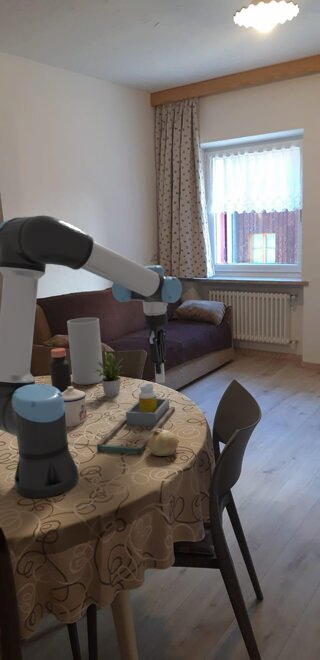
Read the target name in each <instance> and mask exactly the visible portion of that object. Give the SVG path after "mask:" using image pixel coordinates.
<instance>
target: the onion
mask: <svg viewBox="0 0 320 660" xmlns="http://www.w3.org/2000/svg"><path fill="white" fill-rule="evenodd" d="M178 446H179V439H178V437H177V436H176V435H175V434H174V433H173V432H171V431H170V430H168V429H162V428H161V429H160V428H158V429H156V430H154V431H153V433H152V434H151V435H150V437H149V440H148V445H147V447H148V450H149V452H151V454H152V455H154V456H156V457H161V456H162V457H168V456H172V455H173V454H174V453H175V452H176V451H177V449H178Z"/></svg>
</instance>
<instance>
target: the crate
mask: <svg viewBox="0 0 320 660" xmlns="http://www.w3.org/2000/svg"><path fill="white" fill-rule="evenodd" d="M156 402H157V410H156V411H155V412H154V413H146V412H140V404H139V399H138V400H137V401H136V402H135V403H134V404H133V405H132V406H131V407H130V408H129V409H127V410H126V412H125V416H126V421H127V423H126V425H127V426H128V425H129V426H138V427H139V426H141V427H152V428H154V427H155V425H156V424H157V423H158V422H159V421H160V419H161V418H162V417H163V416H164V415H165V413H166V412H167V411H168V410H169V409H170V408H171V407H170V399H169V398H157V397H156Z"/></svg>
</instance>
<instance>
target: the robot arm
mask: <svg viewBox="0 0 320 660" xmlns="http://www.w3.org/2000/svg"><path fill="white" fill-rule="evenodd" d="M47 265H57V266H62V267H67V268H69V269H72V270H74V271H77V270H85V271H86V272H89V273H92V274H93V275H96V276H98V277H101V278H103V279H105V280H107V281H110V282H112V285H111V292H112V295H113V298H114V299H115V300H116V301H117V302H119V303H129V302H130V301H137V302H138V301H139V302H142V307H143V313H144V317H143V318H144V319H143V320H144V325H145V326H146V327H149V337H147V338H146V339H147V340H146V341H147V343H148V349H149V353H150V360H151V365H154V373H155V383H156V384H164V383H165V382H166V379H165V377H166V376H165V364H164V363H167V360H166V355H167V354H166V352H167V351H166V350H167V349H166V348H167V347H166V344H167V343H166V340H167V339H166V337H167V329H164V326H166V325H168V314H167V311H168V310H167V307H168V305H169V303H170V304H171V303H172V304H173V303H177V302H178V301H179V300H180V299H181V295H182V293H183V292H182V291H183V287H182V283H181V281H180V279H179V278H178V277H175V276H170V275H168V276H167V275H166V276H165V270H164V267H163V266H162V265H154V264H153V265H145V266H143V265H142V264H140V263H138V262H136V261H134V260H132V259H130V258H128V257H126V256H124V255H122V254H121V253H118V252H116V251H114V250H112V249H111V248H108V247H106V246H104V245H103V244H100V243H98V242H97V241H95V240H94V237H93V236H92V235H91V234H90V233H88V232H86V231H84V230H82V229H81V228H78V227H76V226H74V225H73V224H71V223H68V222H66V221H63V220H62V219H60V218H57V217H53V216H49V215H42V214H41V215H35V216H22V217H13V218H11V219H8V220H5V221H3V222H1V224H0V274H1V275H2V276H3V279H2V290H1V303H0V431H3V432H5V433H8V434H9V435H12V436H15V437H16V441H17V450H18V460H17V466H16V469H15V475H14V489H15V491H16V492H17V494H18V495H20V496H23V497H25V498H32V499H41V498H50V497H55V496H58V495H61V494H64V493H65V492H67V491H69V490H71V489H73V488H74V487H75V486H76V485H77V483H78V482H79V479H80V478H79V470H78V466H77V465H76V462H75V460H74V458H73V455H72V453H71V451H70V449H69V441H68V440H69V439H68V431H67V426H66V418H65V404H64V400H63V396H62V393H61V392H60V390H58V389H57V388H55V387H53V386H52V385H50V384H46V383H44V384H40V383H36V378H35V377H34V376H33V375H32V373H31V364H32V363H31V362H32V354H33V353H32V352H33V341H34V331H35V319H36V309H37V299H38V298H37V297H38V286H39V280H40V279H41V278H43V276H45V274H46V268H47V267H46V266H47Z"/></svg>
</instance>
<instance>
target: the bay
mask: <svg viewBox="0 0 320 660" xmlns="http://www.w3.org/2000/svg"><path fill="white" fill-rule="evenodd" d="M169 408H170V409H169V410H168V411H167V412H166V413H165V415H164V416H163V417H162V418H161V419H160V421H159V422H158V423H157V424H156V425H155V427H152V429H151V430H150V431H149V432H148V433H147V435H146V436H145V437H144V438H143V440H142V441H141V442H140V443H139V444H138V446H136V447H135V446H125V445H124V446H123V445H110V444H108V443H109V442H110V441H111V440H112V439H113V437H115V436H116V435H117V434H118V432H120V431H121V430H122V428H124V426H125V425H127V421H126V415H125V416H124V417H123V418H122V419H121V420H120V421H119V422H118V423H117V424H116V425H115V426H114V427H113V428H112V429H111V430H110V431H109V432H107V434H105V435H104V436H103V437H102V438H101V440H99V441H98V442H97V443H96V449H97V451H98V452H108V453H117V454H118V453H119V454H128V455H129V454H130V455H131V454H132V455H143V454H144V452H145V451H146V450H147V448H146V447H148V440H149V437H150V435H151V434H152V433H153V431H154V430H156V429H158V428H160V429H162V428H163V426H164V425H165V424H166V422H168V421H169V419H170V418H171V416H172V415H173V414H174V413H175V411H176V410H175V409H176V407H175V406H170V407H169Z"/></svg>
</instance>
